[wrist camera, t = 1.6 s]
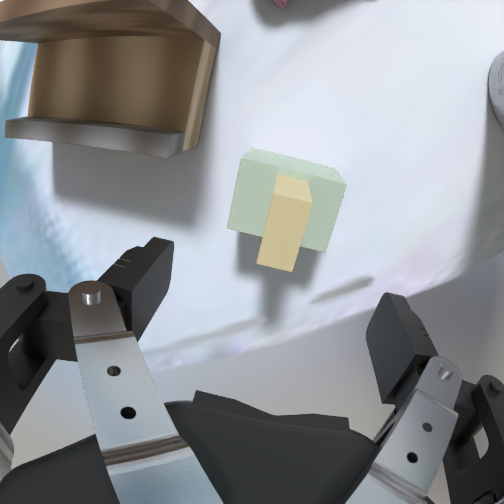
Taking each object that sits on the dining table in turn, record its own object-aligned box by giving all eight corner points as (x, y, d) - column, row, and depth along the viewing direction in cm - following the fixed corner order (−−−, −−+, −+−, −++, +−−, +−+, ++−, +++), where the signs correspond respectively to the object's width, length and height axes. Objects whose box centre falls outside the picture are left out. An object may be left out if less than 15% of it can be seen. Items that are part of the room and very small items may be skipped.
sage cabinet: (334, 168, 25) (362, 206, 16) (319, 223, 28) (332, 290, 18) (251, 147, 26) (225, 172, 16) (239, 204, 28) (209, 260, 18)
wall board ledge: (220, 33, 22) (153, -31, 9) (197, 145, 26) (113, 183, 13) (66, 32, 22) (-42, 20, 9) (52, 127, 26) (-57, 155, 14)
